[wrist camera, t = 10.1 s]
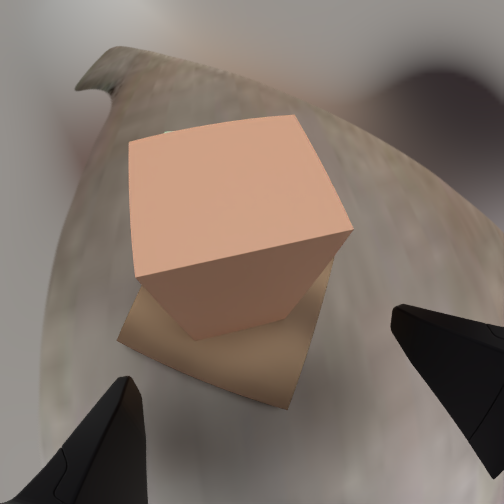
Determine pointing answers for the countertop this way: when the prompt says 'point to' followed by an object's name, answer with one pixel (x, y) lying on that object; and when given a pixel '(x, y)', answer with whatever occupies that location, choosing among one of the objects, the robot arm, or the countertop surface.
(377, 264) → the countertop surface
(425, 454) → the countertop surface
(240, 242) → the terracotta block
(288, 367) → the bronze slab
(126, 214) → the countertop surface
